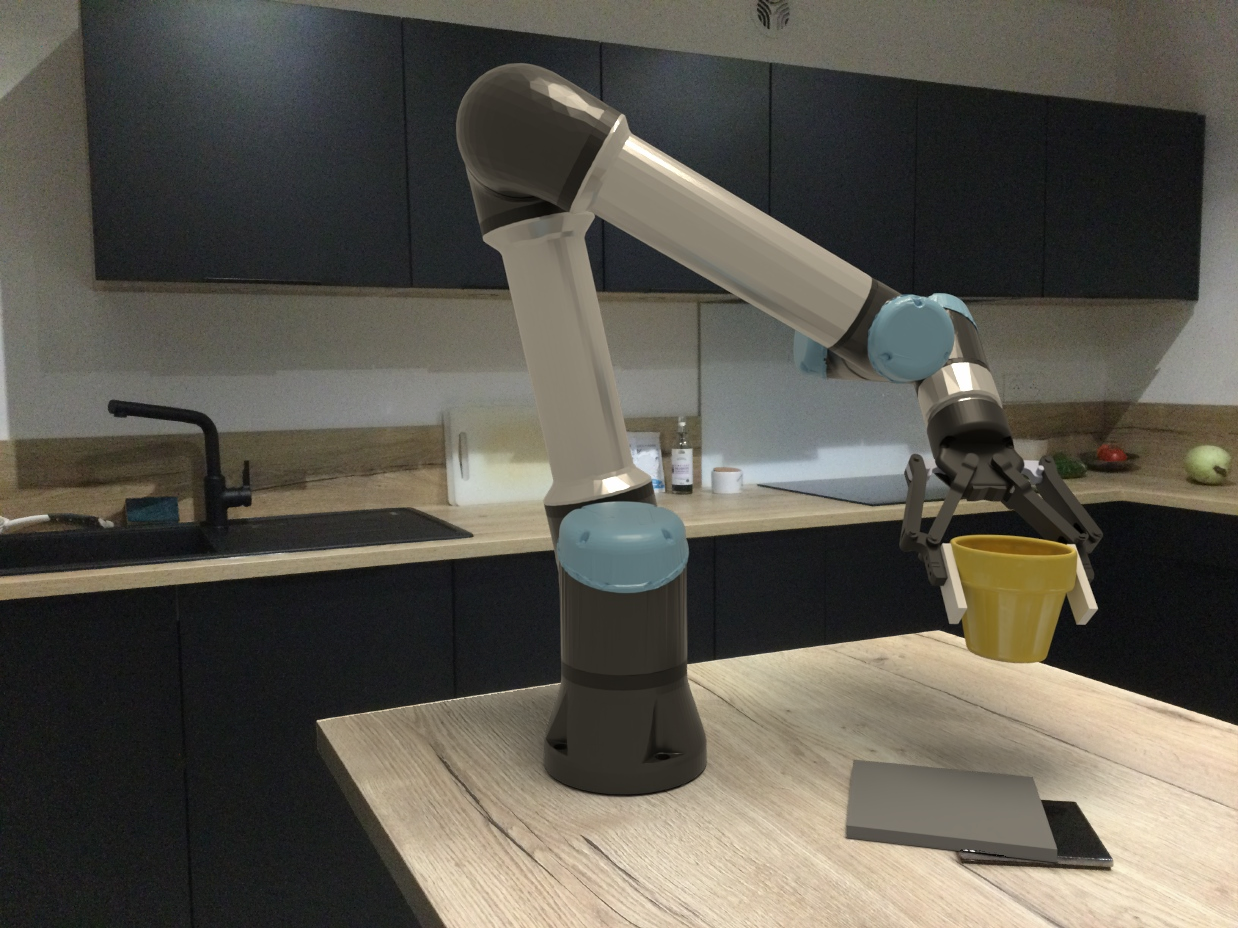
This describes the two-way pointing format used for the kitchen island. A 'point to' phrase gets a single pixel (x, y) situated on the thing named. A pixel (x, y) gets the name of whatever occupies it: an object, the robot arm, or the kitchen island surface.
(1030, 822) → the trivet mat
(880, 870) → the kitchen island surface
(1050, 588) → the plant pot
